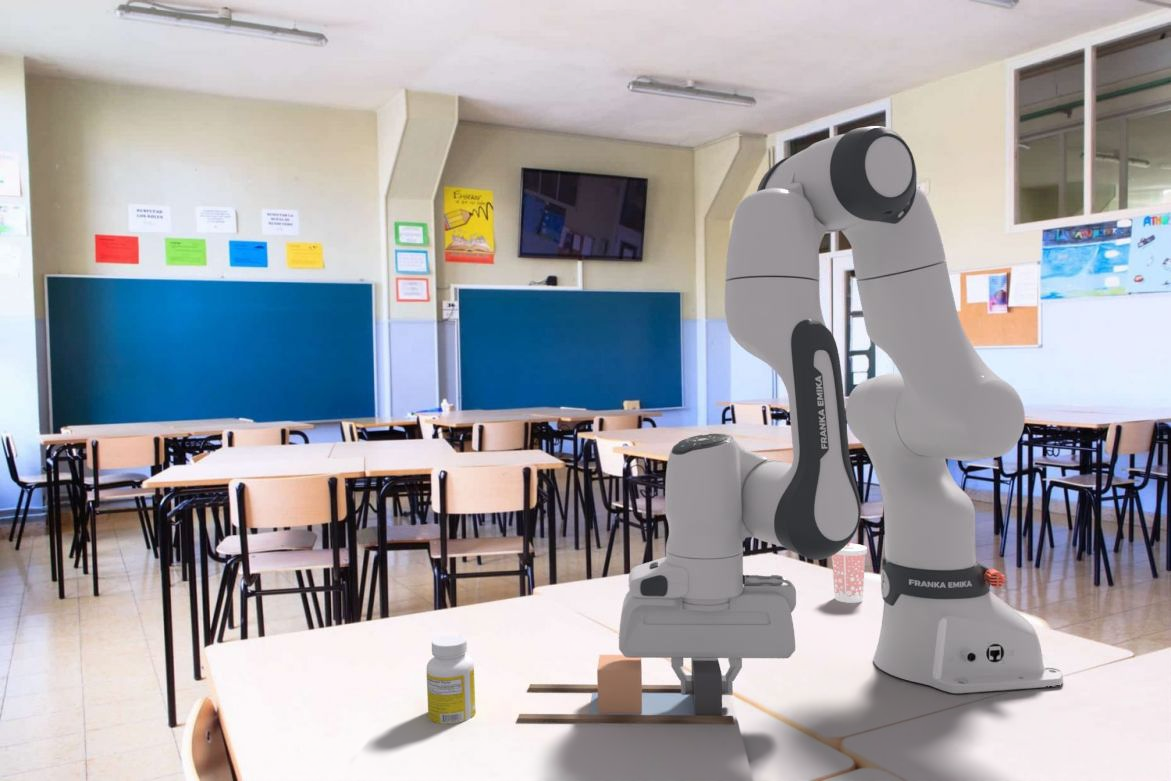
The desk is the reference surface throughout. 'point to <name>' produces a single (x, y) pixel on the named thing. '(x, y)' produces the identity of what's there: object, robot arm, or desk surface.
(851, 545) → the beverage cup
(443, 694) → the supplement bottle
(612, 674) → the terracotta cube
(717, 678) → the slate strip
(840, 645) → the desk surface
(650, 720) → the guide rails
